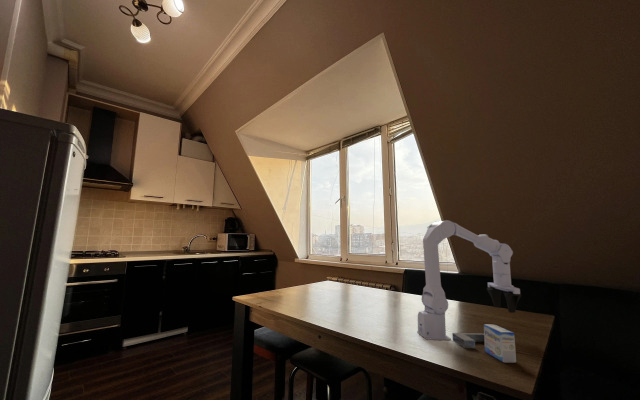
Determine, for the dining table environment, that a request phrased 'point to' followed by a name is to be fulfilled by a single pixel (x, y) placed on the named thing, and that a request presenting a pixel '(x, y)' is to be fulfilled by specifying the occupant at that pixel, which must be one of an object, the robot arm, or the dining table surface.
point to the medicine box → (499, 343)
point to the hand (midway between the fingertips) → (504, 309)
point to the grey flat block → (468, 339)
